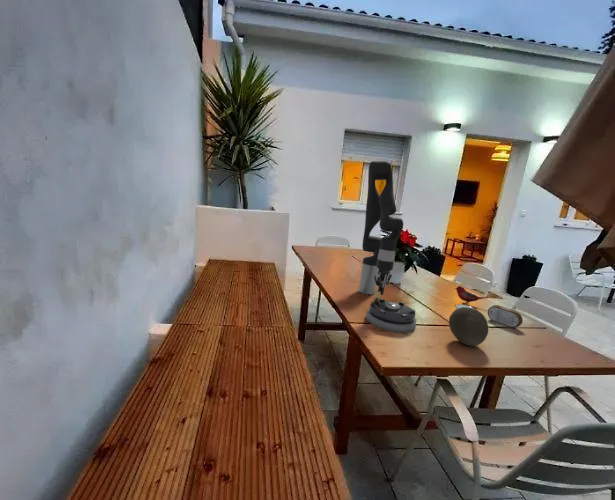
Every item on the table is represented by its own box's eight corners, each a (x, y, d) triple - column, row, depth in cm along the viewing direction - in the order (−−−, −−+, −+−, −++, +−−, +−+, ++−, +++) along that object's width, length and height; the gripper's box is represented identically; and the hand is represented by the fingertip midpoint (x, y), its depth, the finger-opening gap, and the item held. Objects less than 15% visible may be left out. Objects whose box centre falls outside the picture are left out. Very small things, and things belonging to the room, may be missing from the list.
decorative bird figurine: (451, 300, 182) (455, 284, 180) (485, 307, 176) (489, 290, 174) (452, 302, 179) (455, 285, 177) (486, 308, 173) (490, 292, 171)
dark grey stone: (477, 339, 132) (484, 306, 129) (488, 355, 118) (497, 319, 116) (442, 332, 135) (449, 300, 132) (449, 347, 121) (457, 312, 118)
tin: (520, 329, 148) (524, 313, 146) (518, 331, 146) (522, 314, 144) (487, 317, 159) (491, 302, 158) (485, 318, 158) (488, 303, 156)
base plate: (381, 308, 156) (382, 303, 156) (423, 324, 142) (424, 318, 141) (357, 318, 140) (357, 312, 140) (401, 337, 126) (402, 330, 125)
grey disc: (421, 317, 141) (424, 299, 140) (401, 328, 127) (405, 308, 125) (382, 303, 154) (385, 286, 153) (361, 312, 140) (363, 294, 138)
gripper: (385, 256, 151) (380, 289, 155) (371, 258, 142) (366, 294, 145) (399, 259, 146) (394, 294, 150) (386, 262, 137) (380, 299, 140)
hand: (380, 294), depth 147 cm, fingers closed
